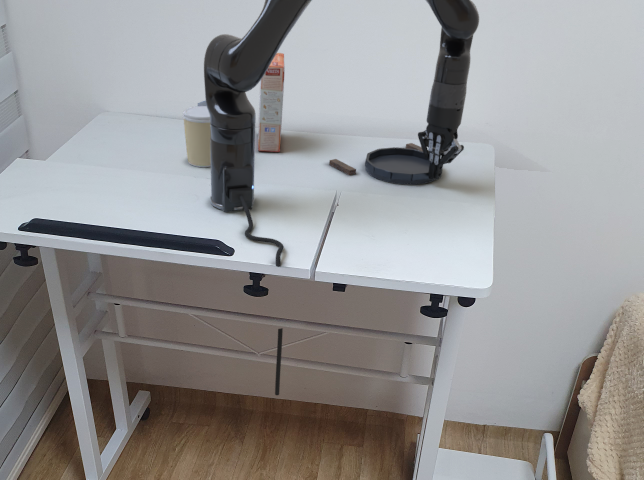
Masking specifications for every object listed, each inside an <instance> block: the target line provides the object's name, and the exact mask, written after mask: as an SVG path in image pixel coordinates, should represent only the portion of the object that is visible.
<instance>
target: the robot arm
mask: <svg viewBox="0 0 644 480" xmlns="http://www.w3.org/2000/svg"><path fill="white" fill-rule="evenodd" d="M311 2H313V0H264V2H263V3H264V4H263V7H262V9H261V11H260V13H259V16H258V17H257V19H256V20H255V21H254V23H253V24H252V25H251V27H250V29H249V30H248V31H247V32H246V33H245V34H244V35H243V37H242V38H241V37H238V36H235V35H232V34H228V33H226V34H225V33H224V34H219V35H217V36H215V37H213V38H212V39H211V41H210V42H209V43H208V45H207V47H206V50H205V53H204V58H203V82H204V96H205V101H206V106H207V109H208V111H209V114H210V151H211V167H210V204H211V205H212V206H213V207H214V208H216V209H218V210H221V211H223V212H224V213H230V212H241V211H244V213H245V216H246V219H247V223H248V226H247V229H246V230H244V236H245V237H246V239H248V240H250V241H254V242H258V243H259V242H261V243H267V244H272V245H275V246H276V247H278V248H277V250H276V253H275V266H276V267H277V268H281V266H282V265H281V264H282V263H281V255H282V253H283V251H284V249H285V246H284V243H282V242H281V241H279V240H277V239H276V238H275V239H274V238H270V237H262V236H255V235H252V234H250V233H251V232H252V231H253V229H254V222H253V218H252V214H251V212H250V210H253V206H254V204H255V157H256V155H255V153H256V152H255V151H256V121H257V120H256V119H257V118H256V109H255V107H254V106H253V105H252V103H251V102H250V100H249V98H248V96H247V92H250V91H251V90H252V89H254V88H255V87H256V86H257V85H259V84H260V80H261V79H262V77H263V76H264V74H265V73H266V71H267V69H268V68H269V66H270V64H271V62H272V60H273V59H274V57H275V55H276V54H277V53H279V50H280V48H281V47H282V45H283V43H284V42H285V40H286V38H287V37H288V35H289V34H290V32H291V31H292V29H293V28H294V27H295V26H296V24H297V23H298V21H299V20H300V18H301V17H302V15H303V13H304V12H305V10H306V9H307V8H308V6H309V5H310V4H311ZM425 2H426V3H427V4H428V6H429V7H430V9H431V11H432V13H433V14H434V16H435V18H436V20H437V22H438V23H439V25H440V26H441V28H440V37H439V39H440V40H439V50H438V55H437V59H436V63H435V70H434V76H433V82H432V85H431V88H430V95H429V102H428V106H427V107H428V109H427V115H426V123H427V125H426V128H425V130H422V131H419V132H417V137H418V141H419V144H420V147H422V150H423V154H424V157H425V158H428V159H429V162H430V166H429V172H428V174H429V178H430V179H432V180H434V181H437V180H440V179H441V177H442V174H443V168H444V165H446V164H451V163H452V162H453V161H454V160H455V159H456V158H457V157H458V156H459V155H460V154H461V153H462V152H463V151H464V150H465V146H464V145H463V144H460V143H459V141H458V138H459V133H458V129H459V126H461V124H462V120H463V113H464V108H465V103H466V97H467V88H468V87H467V85H468V79H469V75H470V74H469V73H470V68H471V61H472V60H471V59H472V58H471V49H472V45H473V39H474V35H475V33H476V32H477V30H478V28H479V26H480V25H479V24H480V14H479V11H478V8H477V6H476V4H475V3H474V2H473V1H472V0H425ZM428 151H429V152H428ZM283 330H284V328H278V329H277V347H276V361H275V362H276V365H275V384H274V395H275V396H280V390H281V389H280V386H281V385H280V384H281V368H282V354H283V353H282V350H283V349H282V348H283V334H284V333H283Z"/></svg>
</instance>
